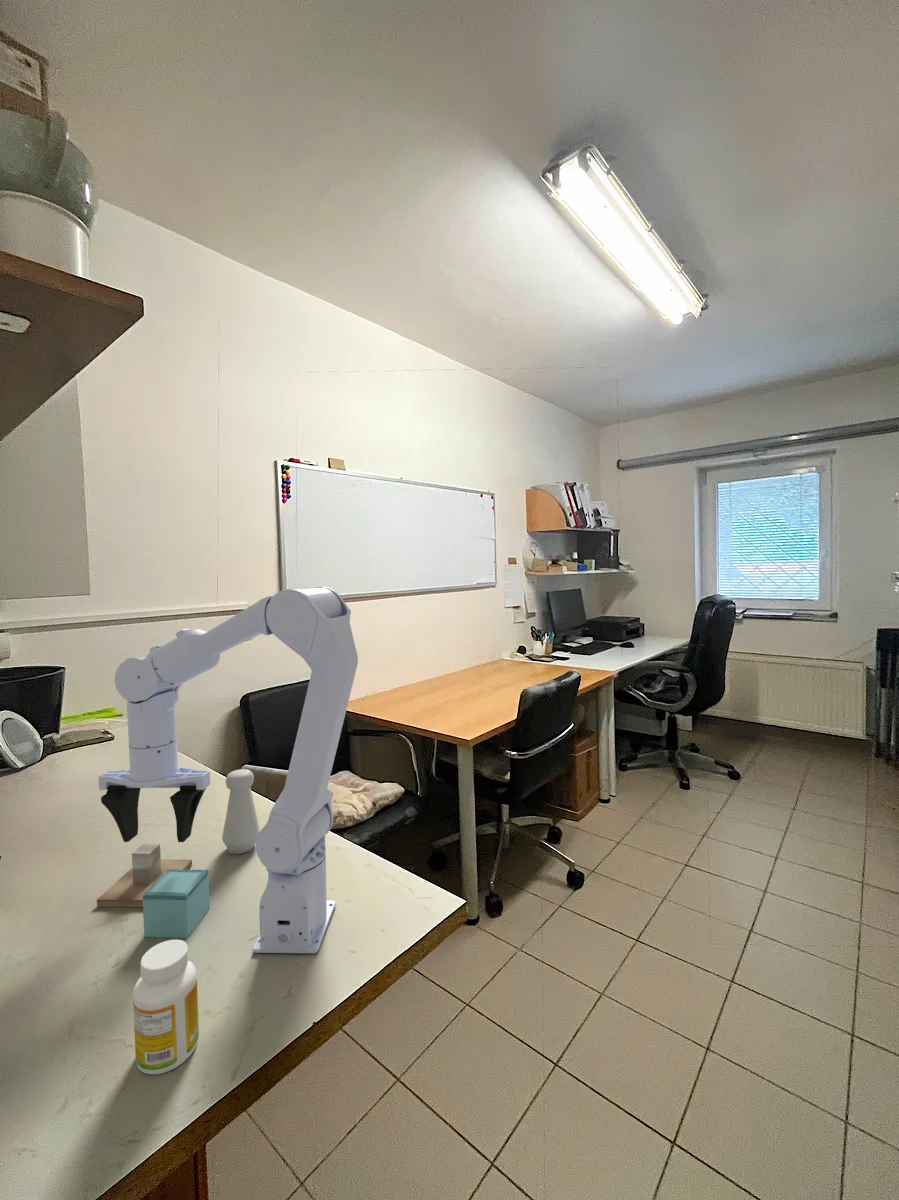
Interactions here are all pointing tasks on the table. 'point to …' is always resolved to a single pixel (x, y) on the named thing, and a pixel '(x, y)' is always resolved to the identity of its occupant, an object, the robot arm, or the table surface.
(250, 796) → the salt shaker
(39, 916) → the table surface
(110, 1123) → the table surface
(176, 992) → the supplement bottle
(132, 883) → the post base
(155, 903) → the teal lidded box
